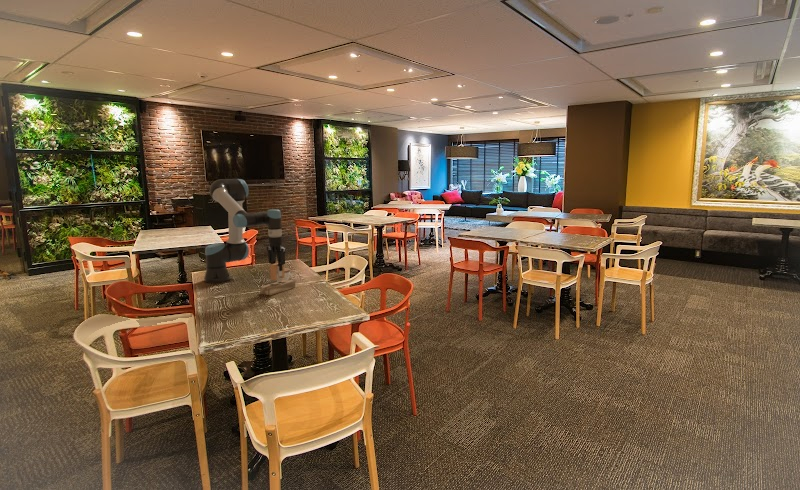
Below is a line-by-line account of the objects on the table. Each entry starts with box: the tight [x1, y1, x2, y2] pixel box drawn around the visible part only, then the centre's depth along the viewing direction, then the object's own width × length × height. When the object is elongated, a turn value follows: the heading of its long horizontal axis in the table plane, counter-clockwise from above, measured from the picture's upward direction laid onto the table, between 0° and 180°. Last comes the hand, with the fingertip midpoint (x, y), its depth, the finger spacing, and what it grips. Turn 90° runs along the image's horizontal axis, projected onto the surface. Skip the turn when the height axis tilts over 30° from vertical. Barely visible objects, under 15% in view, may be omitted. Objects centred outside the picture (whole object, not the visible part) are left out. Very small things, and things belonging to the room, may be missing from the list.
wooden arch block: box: [269, 262, 285, 281], centre depth 249 cm, size 3×8×9 cm, turn 150°
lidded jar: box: [275, 267, 291, 282], centre depth 270 cm, size 11×11×9 cm
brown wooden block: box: [259, 279, 296, 296], centre depth 251 cm, size 8×20×4 cm, turn 150°
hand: (277, 275), depth 250 cm, fingers closed on wooden arch block, 3 cm apart
